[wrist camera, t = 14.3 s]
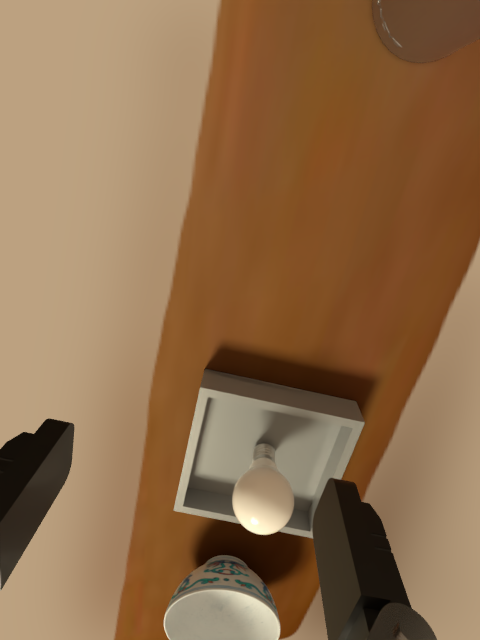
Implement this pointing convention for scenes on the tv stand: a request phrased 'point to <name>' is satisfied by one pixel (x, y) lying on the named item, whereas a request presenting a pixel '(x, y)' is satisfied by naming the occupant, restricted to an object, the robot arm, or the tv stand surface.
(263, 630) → the chinaware
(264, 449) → the lightbulb
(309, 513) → the tray
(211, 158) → the tv stand surface
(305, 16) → the tv stand surface
